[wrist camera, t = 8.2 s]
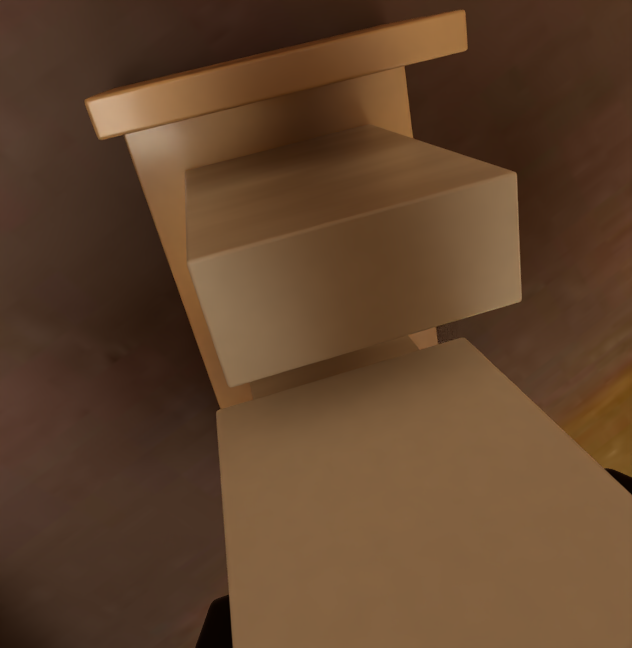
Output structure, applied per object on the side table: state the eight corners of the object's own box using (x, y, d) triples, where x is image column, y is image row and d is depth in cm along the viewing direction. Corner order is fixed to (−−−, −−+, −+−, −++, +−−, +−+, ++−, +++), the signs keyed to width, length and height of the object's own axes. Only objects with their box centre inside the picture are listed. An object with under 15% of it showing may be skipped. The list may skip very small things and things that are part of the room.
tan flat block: (464, 334, 12) (879, 722, 5) (474, 424, 13) (824, 851, 6) (214, 409, 11) (252, 971, 4) (245, 495, 12) (319, 1064, 5)
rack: (387, 23, 16) (592, -16, 8) (437, 410, 22) (578, 602, 14) (111, 88, 15) (33, 117, 7) (245, 470, 22) (282, 709, 14)
